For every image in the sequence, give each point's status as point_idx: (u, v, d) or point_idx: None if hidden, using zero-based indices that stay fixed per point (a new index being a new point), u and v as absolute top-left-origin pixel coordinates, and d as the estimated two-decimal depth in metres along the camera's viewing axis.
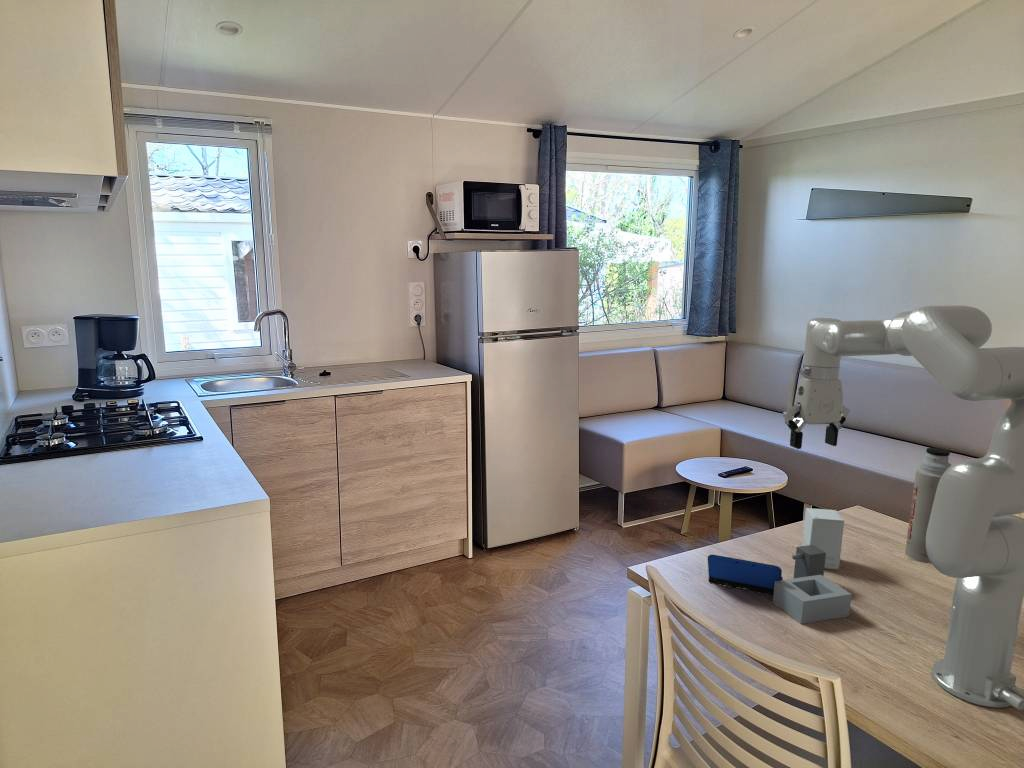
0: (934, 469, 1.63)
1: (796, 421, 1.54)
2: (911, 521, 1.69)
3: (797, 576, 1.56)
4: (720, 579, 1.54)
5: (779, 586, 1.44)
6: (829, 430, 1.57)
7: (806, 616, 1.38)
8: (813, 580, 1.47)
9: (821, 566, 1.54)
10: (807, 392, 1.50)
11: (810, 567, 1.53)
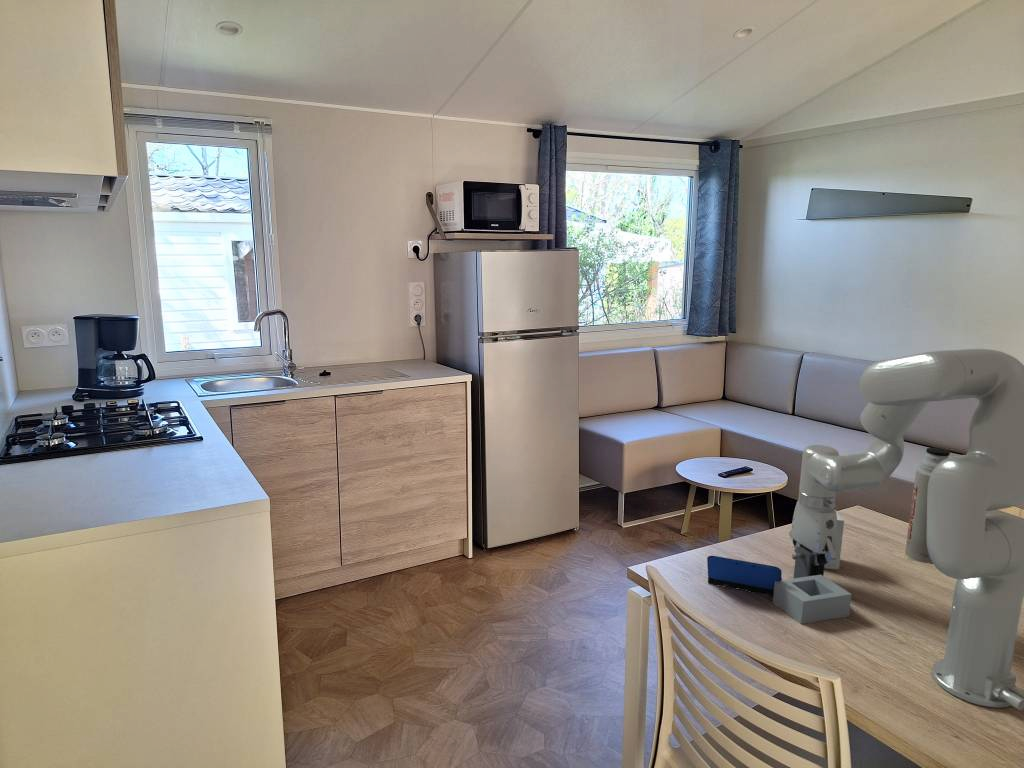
0: None
1: None
2: (911, 521, 1.69)
3: (797, 576, 1.56)
4: (719, 580, 1.54)
5: (779, 586, 1.44)
6: None
7: (806, 616, 1.38)
8: (813, 580, 1.47)
9: None
10: (836, 523, 1.49)
11: (810, 567, 1.53)
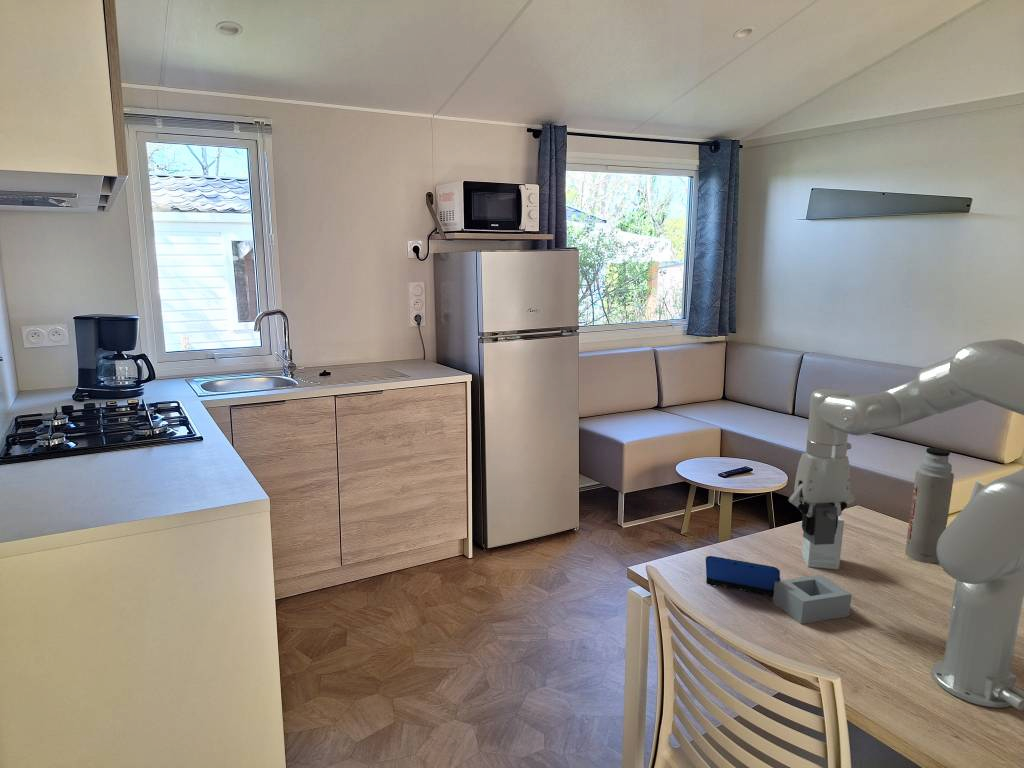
0: (934, 469, 1.63)
1: None
2: (911, 521, 1.69)
3: (820, 539, 1.41)
4: (718, 580, 1.53)
5: (779, 586, 1.44)
6: None
7: (806, 616, 1.38)
8: (813, 580, 1.47)
9: None
10: None
11: None
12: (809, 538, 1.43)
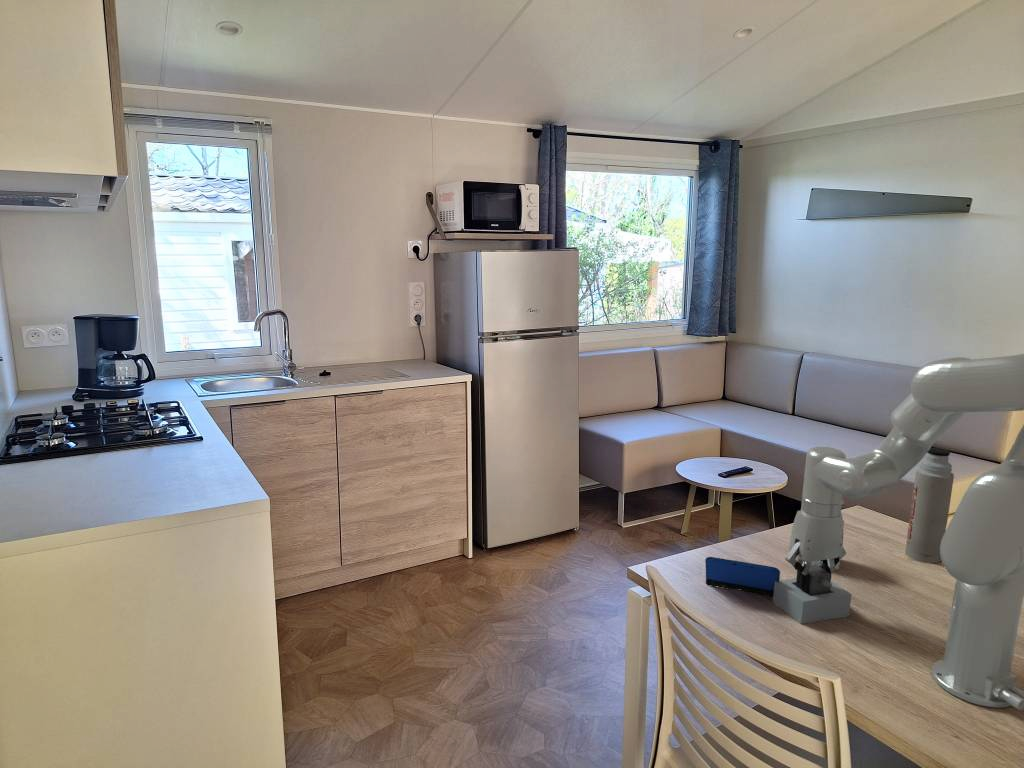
0: (934, 469, 1.63)
1: None
2: (911, 521, 1.69)
3: None
4: (717, 581, 1.53)
5: (779, 586, 1.44)
6: None
7: (806, 616, 1.38)
8: None
9: None
10: None
11: None
12: None
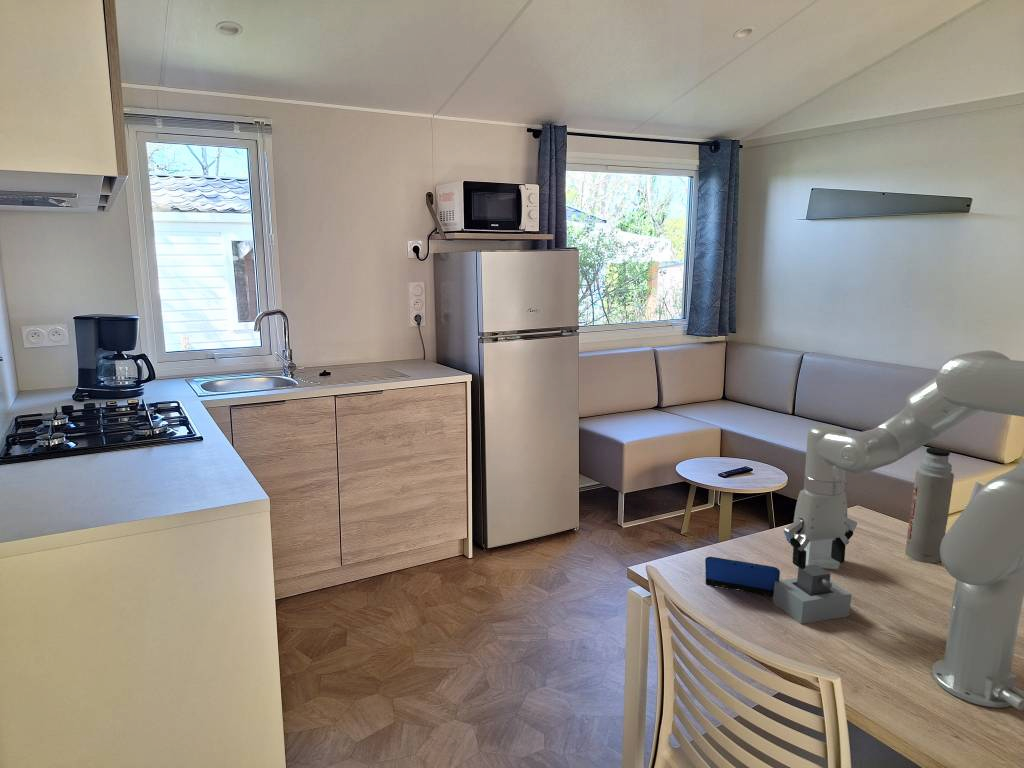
0: (934, 469, 1.63)
1: None
2: (911, 521, 1.69)
3: None
4: (717, 581, 1.53)
5: (779, 586, 1.44)
6: None
7: (806, 616, 1.38)
8: None
9: None
10: None
11: None
12: None
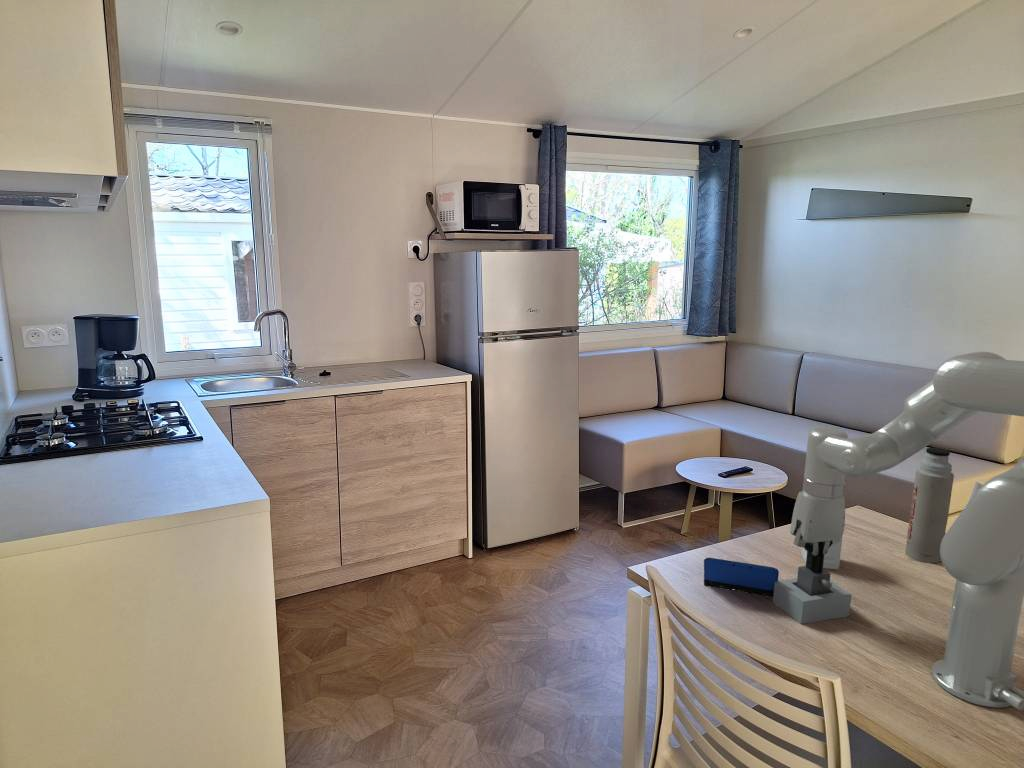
0: (934, 469, 1.63)
1: None
2: (911, 521, 1.69)
3: None
4: (716, 582, 1.53)
5: (779, 586, 1.44)
6: None
7: (806, 616, 1.38)
8: None
9: None
10: None
11: None
12: None
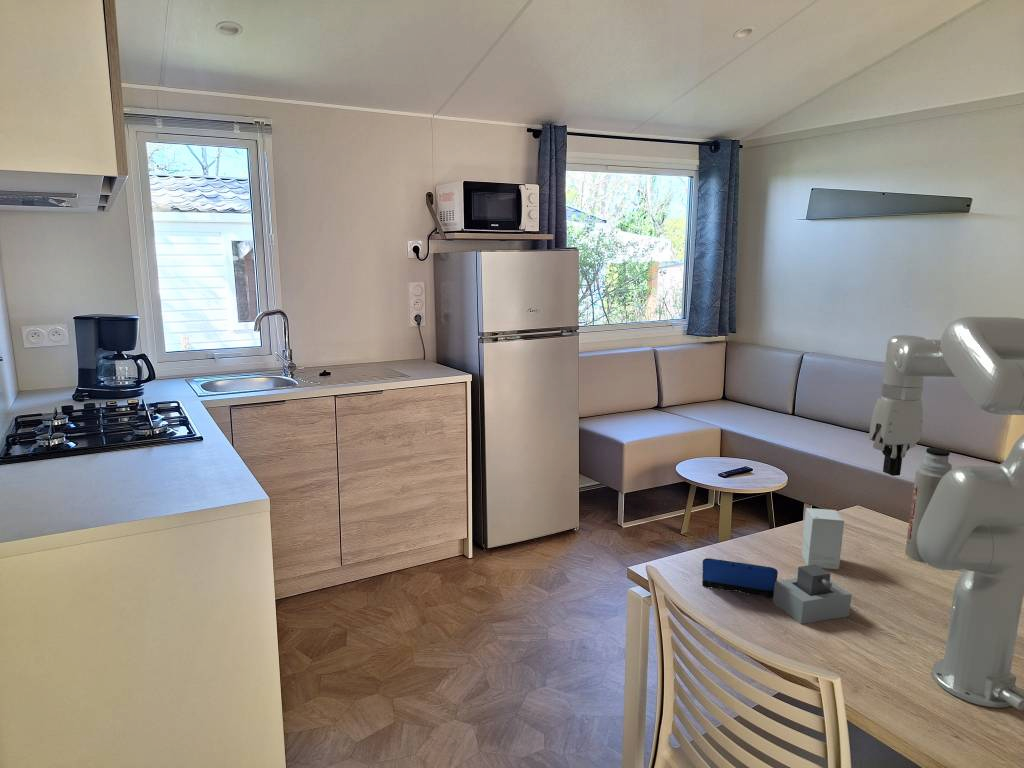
0: (934, 469, 1.63)
1: None
2: (911, 521, 1.69)
3: None
4: (714, 582, 1.52)
5: (779, 586, 1.44)
6: None
7: (806, 616, 1.38)
8: None
9: None
10: None
11: None
12: None
